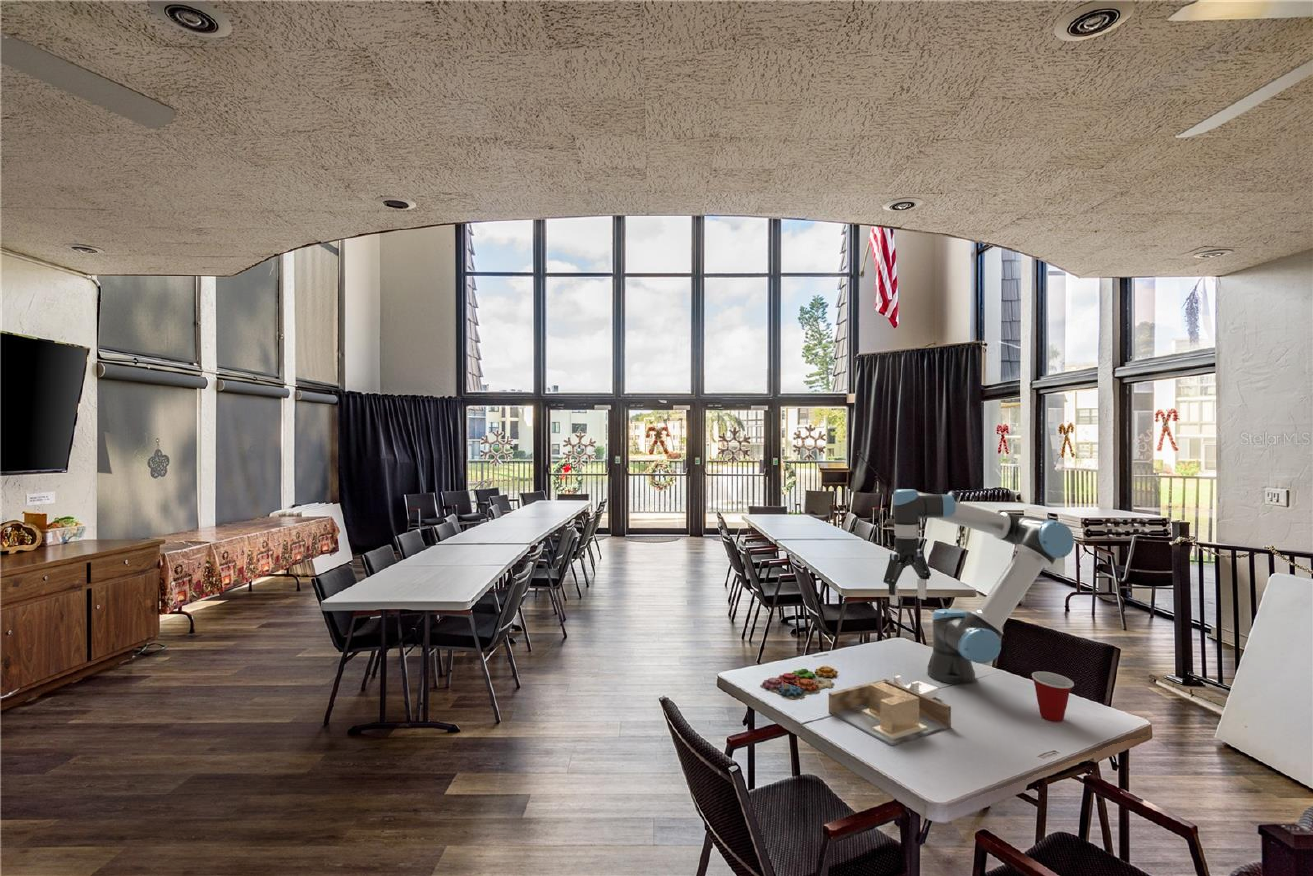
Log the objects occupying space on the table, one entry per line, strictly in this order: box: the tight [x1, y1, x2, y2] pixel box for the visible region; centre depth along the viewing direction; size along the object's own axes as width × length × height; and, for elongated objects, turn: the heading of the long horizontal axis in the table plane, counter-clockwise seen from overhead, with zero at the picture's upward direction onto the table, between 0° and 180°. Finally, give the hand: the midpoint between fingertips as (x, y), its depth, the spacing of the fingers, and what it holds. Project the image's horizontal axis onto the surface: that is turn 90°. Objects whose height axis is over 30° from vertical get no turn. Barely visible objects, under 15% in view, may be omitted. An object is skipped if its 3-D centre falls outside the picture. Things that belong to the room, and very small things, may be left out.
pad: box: [862, 708, 927, 740], centre depth 187 cm, size 14×17×1 cm
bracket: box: [893, 674, 939, 699], centre depth 206 cm, size 13×7×8 cm, turn 124°
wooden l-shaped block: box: [869, 682, 919, 734], centre depth 187 cm, size 14×11×8 cm
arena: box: [828, 678, 952, 747], centre depth 191 cm, size 24×24×6 cm
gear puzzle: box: [759, 665, 839, 701], centre depth 220 cm, size 31×16×4 cm, turn 127°
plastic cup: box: [1031, 671, 1075, 723], centre depth 192 cm, size 11×11×12 cm
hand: (908, 601), depth 211 cm, fingers open, 13 cm apart
